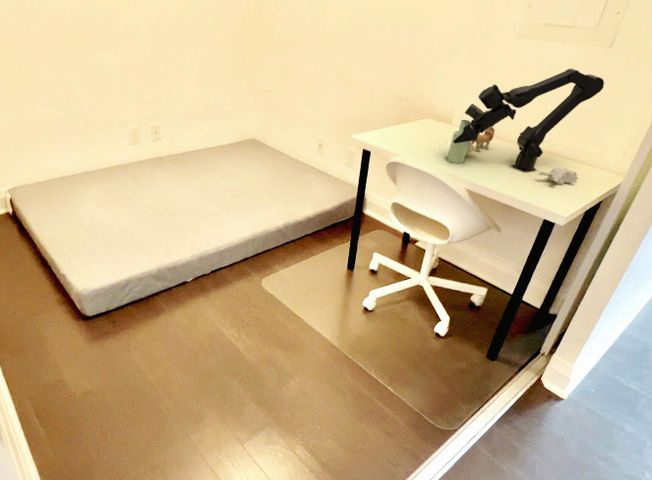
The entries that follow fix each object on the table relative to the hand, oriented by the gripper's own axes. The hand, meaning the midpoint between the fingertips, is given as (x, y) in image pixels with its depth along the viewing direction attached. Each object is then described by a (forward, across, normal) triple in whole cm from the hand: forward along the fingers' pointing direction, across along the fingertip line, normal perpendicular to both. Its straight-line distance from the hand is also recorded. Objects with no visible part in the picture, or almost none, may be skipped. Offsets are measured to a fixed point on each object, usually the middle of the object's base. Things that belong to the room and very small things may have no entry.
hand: (456, 139), depth 175 cm
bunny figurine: (-22, -1, +34) cm, 41 cm away
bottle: (+5, 0, +7) cm, 9 cm away
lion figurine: (+2, -22, +10) cm, 25 cm away
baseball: (+4, -8, +8) cm, 12 cm away
